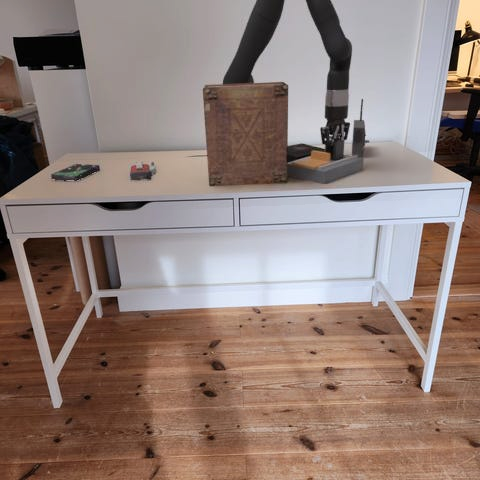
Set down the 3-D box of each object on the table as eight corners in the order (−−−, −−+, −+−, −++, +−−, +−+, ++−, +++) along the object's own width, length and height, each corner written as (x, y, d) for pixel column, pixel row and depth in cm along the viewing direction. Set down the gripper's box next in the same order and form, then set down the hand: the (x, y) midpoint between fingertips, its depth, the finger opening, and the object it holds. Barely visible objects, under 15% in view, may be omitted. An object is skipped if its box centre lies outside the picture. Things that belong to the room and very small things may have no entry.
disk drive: (76, 171, 166) (51, 181, 153) (75, 163, 165) (50, 174, 152) (100, 172, 164) (77, 183, 151) (99, 164, 163) (75, 175, 149)
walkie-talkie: (156, 180, 150) (155, 166, 168) (154, 168, 148) (154, 154, 166) (130, 183, 148) (132, 168, 166) (128, 170, 147) (130, 156, 165)
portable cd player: (300, 152, 180) (300, 143, 178) (330, 160, 167) (330, 150, 165) (268, 159, 172) (268, 149, 170) (296, 168, 158) (297, 157, 157)
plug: (324, 161, 153) (325, 137, 149) (332, 159, 155) (333, 135, 152) (335, 163, 149) (336, 139, 146) (343, 161, 152) (344, 136, 149)
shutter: (292, 165, 145) (292, 155, 143) (310, 159, 151) (311, 149, 149) (314, 169, 139) (314, 159, 137) (332, 163, 145) (333, 153, 143)
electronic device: (351, 148, 182) (355, 98, 174) (368, 148, 181) (372, 97, 173) (351, 158, 167) (355, 103, 159) (369, 158, 165) (374, 103, 157)
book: (208, 186, 141) (201, 87, 128) (209, 178, 149) (203, 84, 137) (287, 183, 141) (288, 84, 128) (284, 175, 149) (284, 81, 137)
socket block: (285, 174, 149) (285, 160, 147) (325, 162, 163) (325, 149, 161) (323, 183, 138) (324, 169, 136) (362, 169, 152) (363, 155, 150)
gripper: (340, 100, 151) (337, 149, 158) (314, 105, 143) (312, 157, 150) (358, 102, 146) (355, 152, 153) (333, 107, 138) (330, 160, 145)
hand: (334, 154), depth 151 cm, fingers closed on plug, 4 cm apart
